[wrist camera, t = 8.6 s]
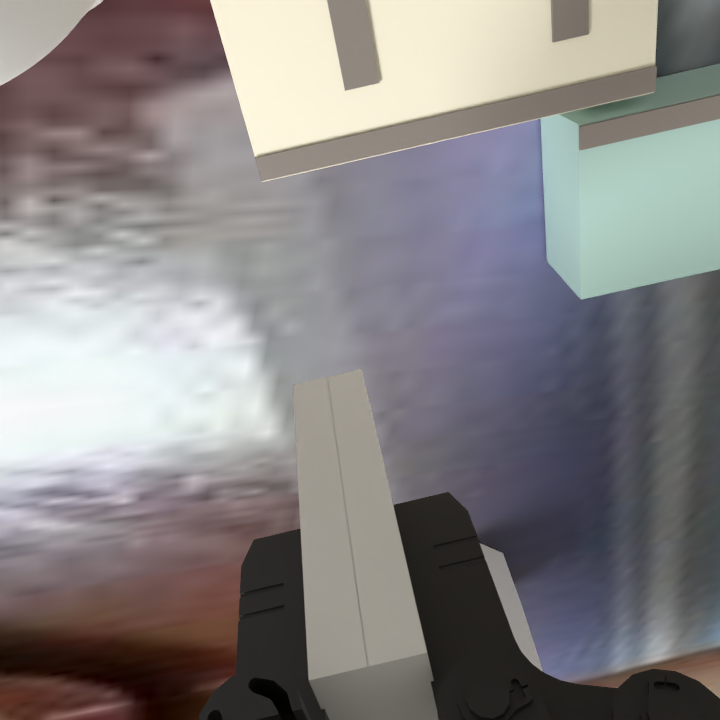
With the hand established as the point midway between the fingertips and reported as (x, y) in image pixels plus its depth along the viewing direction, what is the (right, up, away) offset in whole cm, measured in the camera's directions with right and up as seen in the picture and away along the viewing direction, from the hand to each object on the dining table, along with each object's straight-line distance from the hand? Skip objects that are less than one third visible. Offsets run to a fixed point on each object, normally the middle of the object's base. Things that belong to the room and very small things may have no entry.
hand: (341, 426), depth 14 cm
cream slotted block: (+2, +13, +6) cm, 15 cm away
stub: (+11, +9, +10) cm, 17 cm away
